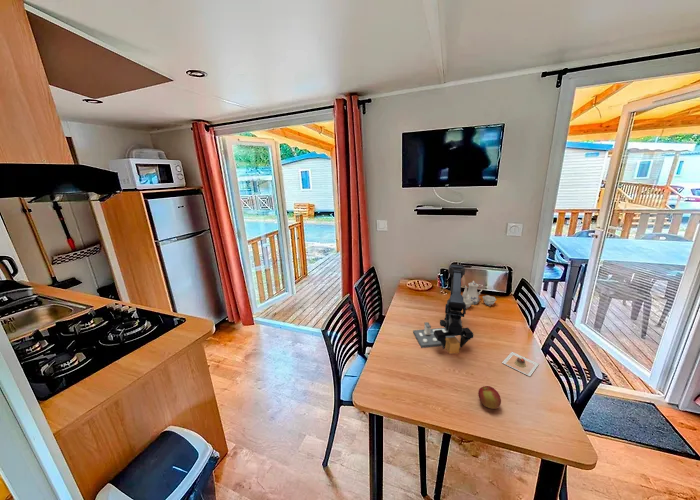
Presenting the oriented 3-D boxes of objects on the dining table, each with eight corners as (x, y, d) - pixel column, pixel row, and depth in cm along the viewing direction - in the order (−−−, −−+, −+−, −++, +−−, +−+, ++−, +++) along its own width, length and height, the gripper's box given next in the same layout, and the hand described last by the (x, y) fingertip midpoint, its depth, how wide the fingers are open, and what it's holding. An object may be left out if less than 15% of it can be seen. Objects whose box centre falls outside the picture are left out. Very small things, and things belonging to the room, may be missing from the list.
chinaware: (463, 314, 175) (467, 293, 169) (448, 301, 190) (451, 280, 184) (498, 308, 182) (504, 287, 175) (481, 295, 197) (486, 275, 190)
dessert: (529, 378, 120) (531, 369, 119) (501, 364, 129) (502, 356, 128) (538, 365, 127) (540, 357, 126) (511, 353, 136) (512, 345, 135)
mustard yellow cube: (454, 346, 142) (455, 337, 140) (458, 353, 137) (459, 343, 135) (445, 347, 142) (446, 338, 140) (449, 353, 137) (450, 344, 135)
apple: (492, 396, 111) (494, 380, 108) (503, 413, 103) (506, 397, 101) (474, 397, 111) (476, 381, 108) (484, 414, 103) (486, 398, 101)
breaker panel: (447, 329, 157) (448, 325, 156) (459, 344, 144) (459, 340, 143) (413, 332, 155) (413, 328, 155) (421, 347, 142) (421, 343, 141)
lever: (428, 330, 153) (428, 322, 151) (431, 335, 149) (431, 326, 147) (423, 331, 153) (423, 322, 151) (425, 335, 149) (426, 326, 147)
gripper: (464, 312, 143) (461, 337, 147) (430, 315, 141) (429, 340, 146) (475, 323, 132) (472, 350, 137) (439, 326, 131) (437, 353, 135)
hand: (452, 348), depth 139 cm, fingers open, 9 cm apart
